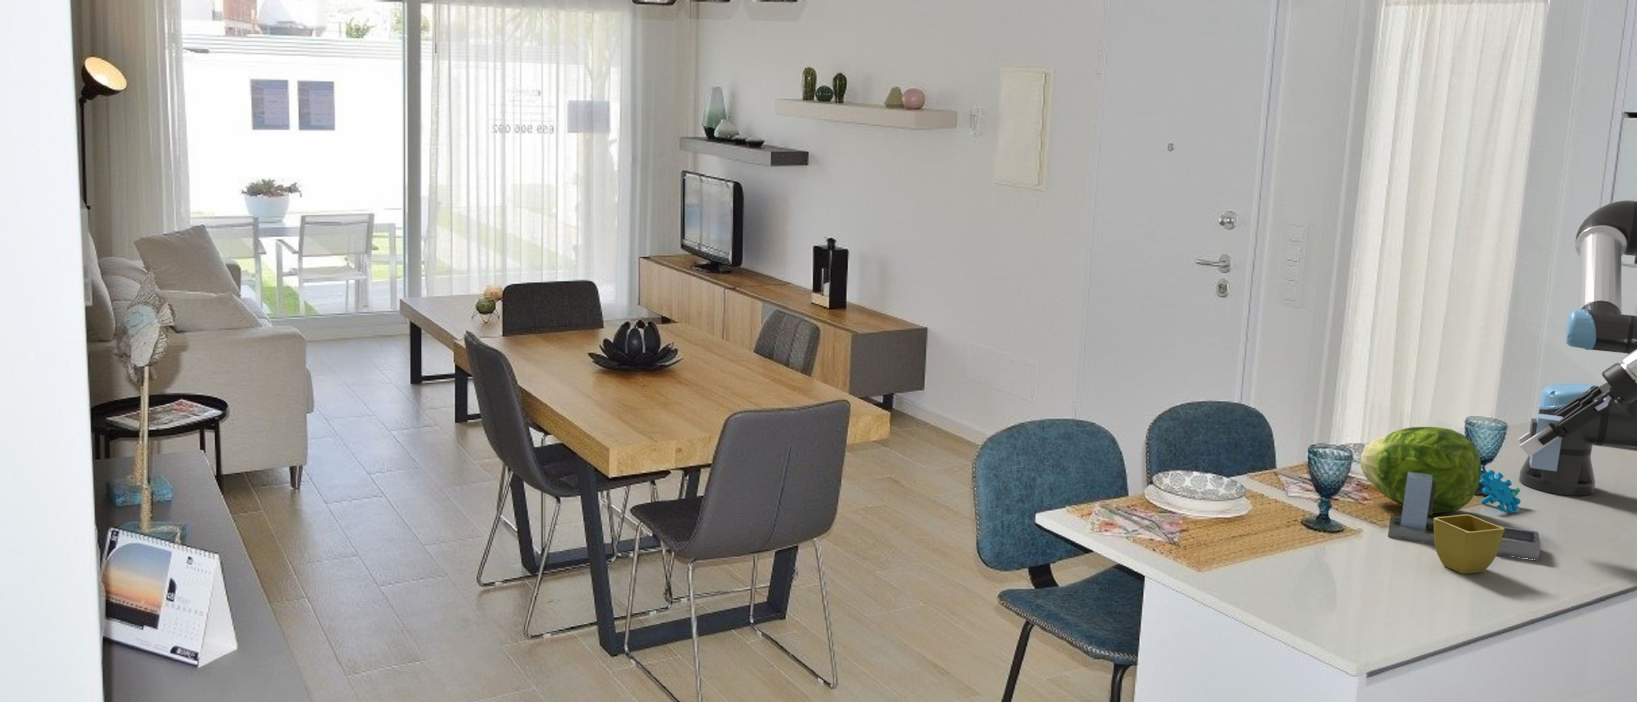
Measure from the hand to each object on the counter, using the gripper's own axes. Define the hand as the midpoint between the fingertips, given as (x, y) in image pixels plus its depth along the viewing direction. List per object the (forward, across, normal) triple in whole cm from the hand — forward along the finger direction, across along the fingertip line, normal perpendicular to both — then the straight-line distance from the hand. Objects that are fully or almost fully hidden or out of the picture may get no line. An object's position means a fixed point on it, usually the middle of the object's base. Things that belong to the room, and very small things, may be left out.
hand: (1523, 447), depth 275 cm
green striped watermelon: (+26, +10, 0) cm, 28 cm away
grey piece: (+19, -9, -7) cm, 22 cm away
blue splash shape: (+14, +20, -12) cm, 27 cm away
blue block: (0, 0, -5) cm, 5 cm away
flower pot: (+20, -25, -7) cm, 33 cm away
